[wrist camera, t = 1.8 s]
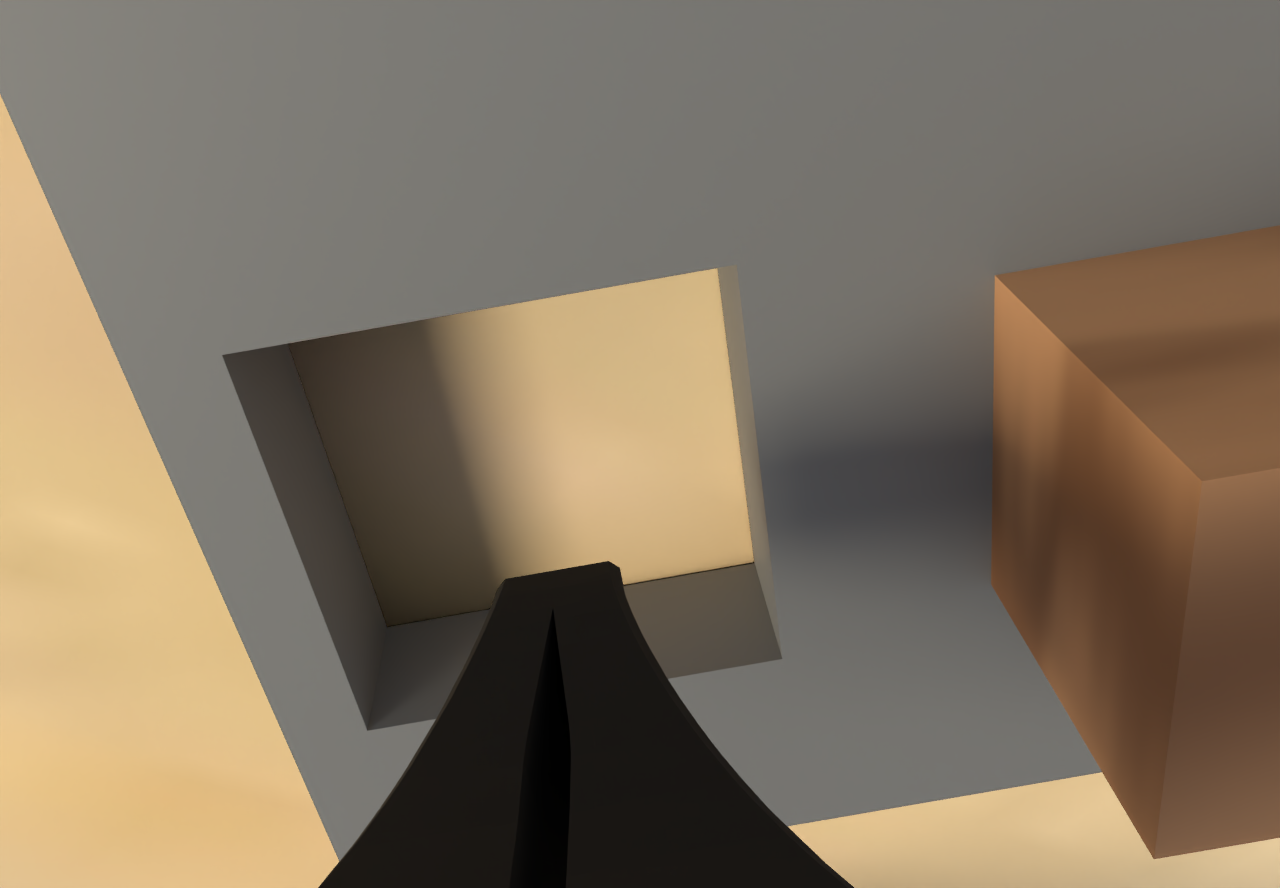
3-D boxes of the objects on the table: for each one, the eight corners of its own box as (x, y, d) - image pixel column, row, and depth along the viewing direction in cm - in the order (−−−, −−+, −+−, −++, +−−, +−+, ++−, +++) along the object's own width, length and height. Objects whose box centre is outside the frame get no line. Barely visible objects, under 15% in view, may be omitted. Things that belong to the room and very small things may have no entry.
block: (1320, 527, 16) (1602, 781, 12) (991, 584, 16) (1153, 859, 12) (1384, 206, 14) (1770, 383, 9) (995, 275, 14) (1201, 481, 9)
